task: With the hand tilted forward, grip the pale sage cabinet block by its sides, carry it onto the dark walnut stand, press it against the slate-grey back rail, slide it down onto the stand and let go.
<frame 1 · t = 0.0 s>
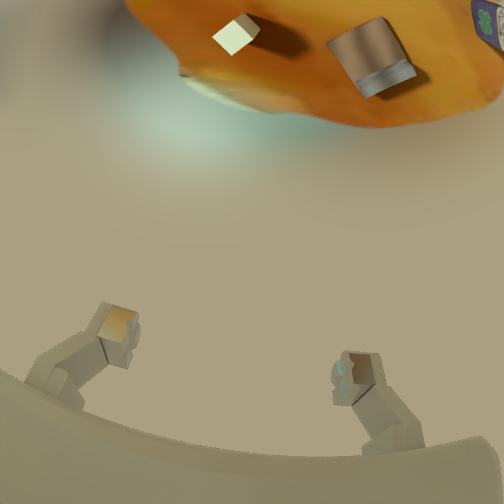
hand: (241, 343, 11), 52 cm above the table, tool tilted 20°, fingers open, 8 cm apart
display stand: (369, 52, 41), on the table
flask: (477, 17, 27), on the table
cabinet block: (243, 27, 41), on the table
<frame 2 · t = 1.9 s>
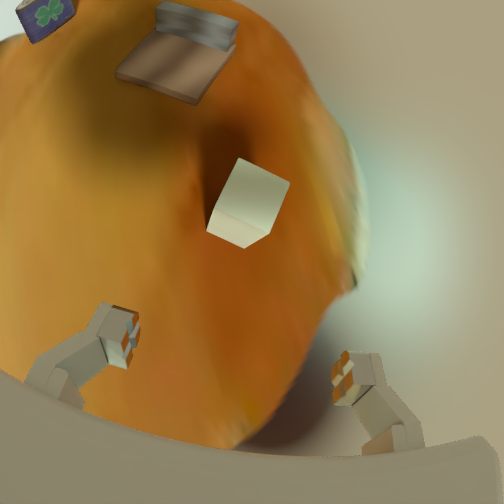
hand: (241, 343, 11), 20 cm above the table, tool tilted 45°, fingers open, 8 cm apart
display stand: (176, 62, 32), on the table
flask: (53, 28, 28), on the table
cabinet block: (233, 221, 31), on the table
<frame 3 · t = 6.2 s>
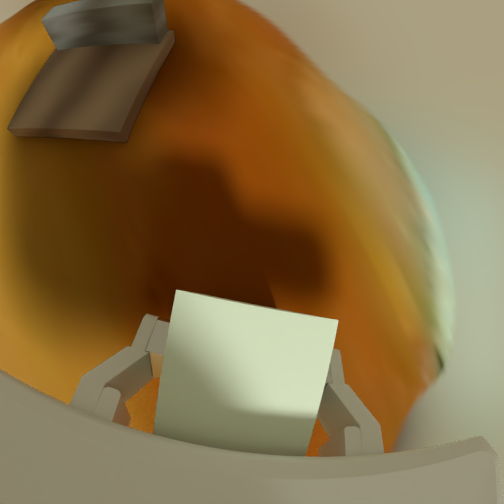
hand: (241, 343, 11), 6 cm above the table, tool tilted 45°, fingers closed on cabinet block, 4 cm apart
display stand: (90, 83, 19), on the table
cabinet block: (233, 337, 17), on the table, touching gripper
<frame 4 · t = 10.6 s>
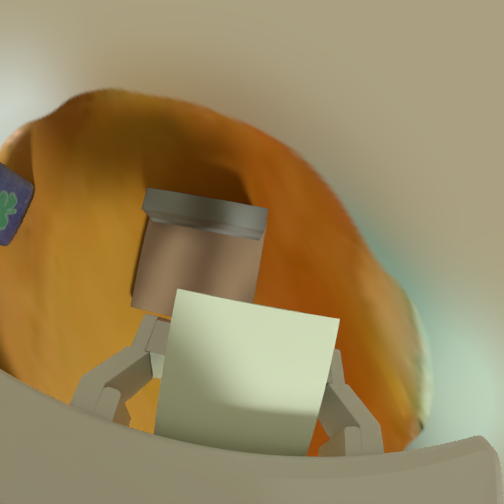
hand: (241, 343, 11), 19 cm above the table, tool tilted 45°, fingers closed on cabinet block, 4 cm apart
display stand: (199, 266, 30), on the table
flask: (18, 216, 29), on the table
cabinet block: (234, 337, 17), point 13 cm above the table, touching gripper
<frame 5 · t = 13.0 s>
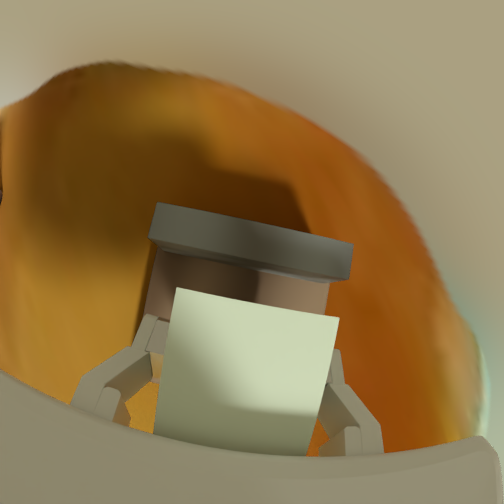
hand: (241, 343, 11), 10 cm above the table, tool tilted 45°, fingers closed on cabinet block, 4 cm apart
display stand: (233, 318, 21), on the table
cabinet block: (233, 336, 17), point 3 cm above the table, touching gripper
when the fingers open (9 cm above the table, at t = 15.0 s): cabinet block stays where it is, resting on display stand.
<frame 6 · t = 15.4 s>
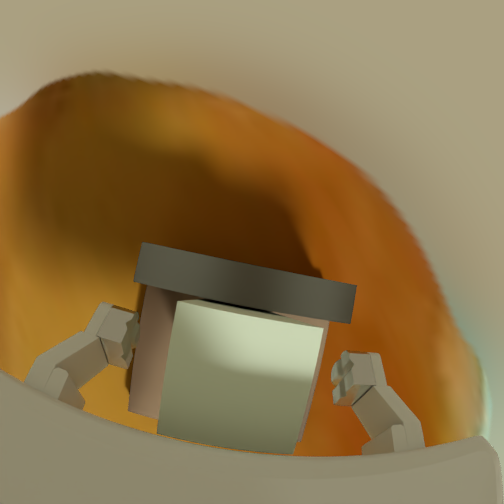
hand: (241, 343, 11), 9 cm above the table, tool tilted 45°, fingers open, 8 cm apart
display stand: (228, 353, 19), on the table
cabinet block: (231, 340, 18), point 1 cm above the table, touching display stand
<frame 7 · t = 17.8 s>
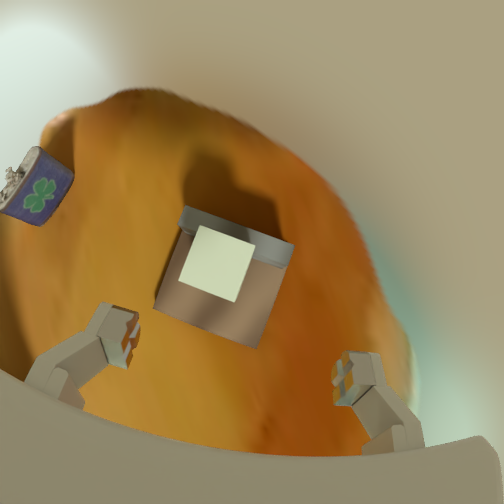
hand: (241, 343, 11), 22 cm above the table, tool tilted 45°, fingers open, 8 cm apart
display stand: (222, 281, 33), on the table
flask: (55, 200, 34), on the table
cabinet block: (224, 271, 31), point 1 cm above the table, touching display stand
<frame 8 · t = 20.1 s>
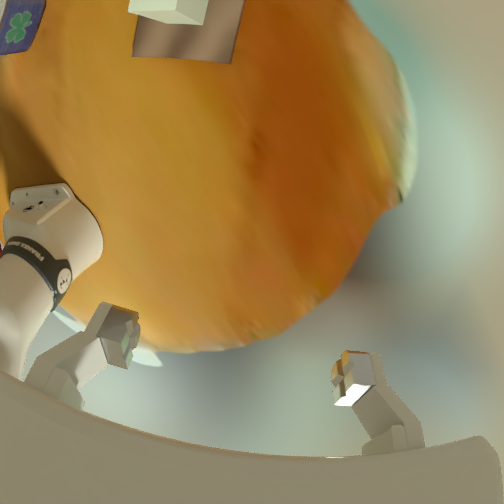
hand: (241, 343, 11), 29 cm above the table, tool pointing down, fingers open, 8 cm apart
display stand: (189, 18, 25), on the table
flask: (34, 25, 23), on the table
cabinet block: (187, 7, 24), point 1 cm above the table, touching display stand
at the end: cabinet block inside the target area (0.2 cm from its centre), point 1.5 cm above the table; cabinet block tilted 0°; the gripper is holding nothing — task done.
